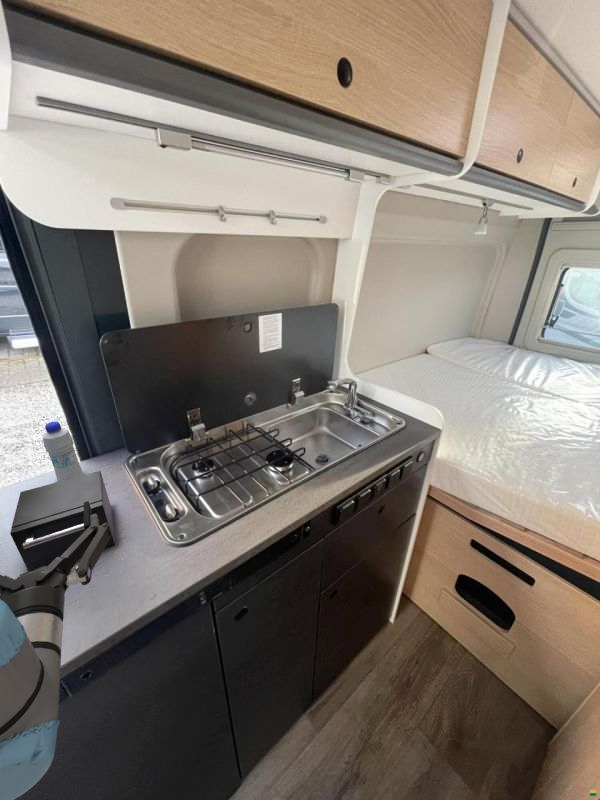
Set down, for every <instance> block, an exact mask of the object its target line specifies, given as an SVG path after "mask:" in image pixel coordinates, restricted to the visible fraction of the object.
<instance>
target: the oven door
mask: <svg viewBox="0 0 600 800" xmlns="http://www.w3.org/2000/svg"><path fill="white" fill-rule="evenodd" d="M90 507H91V510H92V515H93V514H97V516H98V519H99V525H102V524H104V523H109V520H108V517H107V514H106V511H105V507H104V504H103V501H100V502H97V503H93V504H90ZM109 526H110V524H109ZM110 529H111V527H110ZM84 532H85V529H84V506H83V507H80V508H77V509H73V510H70V511H67V512H64V513H60V514H57V515H54V516H50V517H47V518H44V519H41V520H37V521H34V522H31V523H27V524H24V525H21V526H17V527H14V528H12V527H11V529H10V533H9V534H10V536H11V538H12V541H13V542H14V545H15V546H16V549H17V551H18V553H19V555H20V557H21V559H22V560H23V561H22V562H23V563H24V565H25V567H26V570H27V572H30V571H34V570H36V569H38V568H40V567H43V566H45V565H46V566H48V565H49V564H50V563H51V562H52V561H53V560H54V559H55V558H56V557H60V556H61V555H62V554H63V553H64V552H65V551H66V550H67V549H68V548H69V547H70V546H71V545H72V544H73V543H74V542H75V541H76V540H77V539H78V538H79V537H80V536H81V535H82V534H83V533H84ZM111 532H112V530H111ZM114 538H115V536H114V537H113V533H112V536H111V538H110V540H109V541H108V543H107V545H106V547H105V549H104V550H107V549H110V548H112V547H116V539H115V540H114ZM81 558H82V557H81Z"/></svg>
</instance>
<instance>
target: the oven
mask: <svg viewBox="0 0 600 800" xmlns="http://www.w3.org/2000/svg"><path fill="white" fill-rule="evenodd" d="M87 501H89V504H93V503H97V502H100V501H103V504H104V507H105V511H106V514H107V517H108V520H109V524H110V527H111V530H112V533H113V537H114V540H115V541H116V538H115V529H114V528H115V527H114V518H113V508H112V505H111V501H110V499H109V494H108V491H107V488H106V485H105V481H104V478H103V475H102V471H101V470H98V471H95V472H90V473H87V474H83V476H79V477H75V478H71V479H68V480H64V481H60V482H59V481H56V482H53V483H49V484H45V485H42V486H38V487H34V488H31V489H27V490H23V491H20V493H19V498H18V500H17V503H16V508H15V512H14V516H13V520H12V523H11V529H12V528H14V527H17V526H21V525H24V524H27V523H31V522H34V521H37V520H41V519H44V518H47V517H50V516H54V515H57V514H60V513H64V512H67V511H70V510H73V509H77V508H80V507H83V506H84V502H87Z"/></svg>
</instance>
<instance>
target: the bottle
mask: <svg viewBox="0 0 600 800" xmlns="http://www.w3.org/2000/svg"><path fill="white" fill-rule="evenodd" d="M44 428H45V431H46V432H44V433H43V434H42V442H43V447H44V449H45V451H46V453H48V456H49V459H50V461H51V464H52V466H53V469H54V473H55V477H56V479H57V482H60V481H64V480H68V479H71V478H75V477H79V476H83V475H84V473H83V469H82V467H81V465H80V462H79V460H78V456H77V453H76V451H75V448H74V447H75V446H74V440H73V437H72V435H71V433H70V431H69V430H68V429H67V428H66V427H62V426H61V424H60V422H58V421H50V422H47V423H46V424H45V426H44Z"/></svg>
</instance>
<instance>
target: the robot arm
mask: <svg viewBox="0 0 600 800" xmlns="http://www.w3.org/2000/svg"><path fill="white" fill-rule="evenodd" d="M84 529H85V532H84V533H83V534H82V535H81V536H80V537H79V538H78V539H77V540H76V541H75V542H74V543H73V544H72V545H71V546H70V547H69V548H68V549H67V550H66V551H65V552H64V553H63V554H62V555H61V556H60V557H56V558H55V559H54V560H53V561H52V562H51V563H50V564H49V565H48V566H46V565H45V566H43V567H40V568H38V569H36V570H34V571H30V572H29V571H26V572H23V573H21V574H19V576H18V577H16V578H13V577H11V576H8V575H7V574H6V575H3V574H0V800H16V799H17V798H19V797H21V796H22V795H24V794H25V793H26V792H28V791H29V790H30V789H31V788H33V787H34V786H36V785H37V783H38V782H39V781H40V780H41V779H42V778H43V776H44V775H45V774H46V773H47V771H49V768H50V767H51V765H52V762H53V761H54V758H55V754H56V753H55V752H56V745H57V737H58V731H59V729H58V728H59V726H60V723H61V722H60V721H61V720H60V719H59V708H60V707H59V706H60V705H59V704H60V687H61V684H60V683H61V663H62V646H63V645H62V644H63V632H64V631H63V630H64V624H63V623H64V617H65V616H64V615H65V600H66V599H65V598H66V592H67V590H68V588H69V586H72V585H75V584H78V583H79V584H80V583H81V585H82V586H87V585H88V584H90V582H91V581H92V574H93V571H94V568H95V566H96V565H97V563H98V561H99V560H100V558H101V556H102V554H103V553H104V550H106V549H105V547H106V545H107V543H108V541H109V540H110V538H111V536H112V532H111V529H110V526H109V523H104V524H102V525H99V519H98V516H97V514H93V515H92V510H91V507H90V504H89V501H87V502H84ZM81 557H82V558H81ZM77 563H78V565H77ZM73 568H74V569H73ZM72 569H73V571H72ZM71 572H72V573H71Z"/></svg>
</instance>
